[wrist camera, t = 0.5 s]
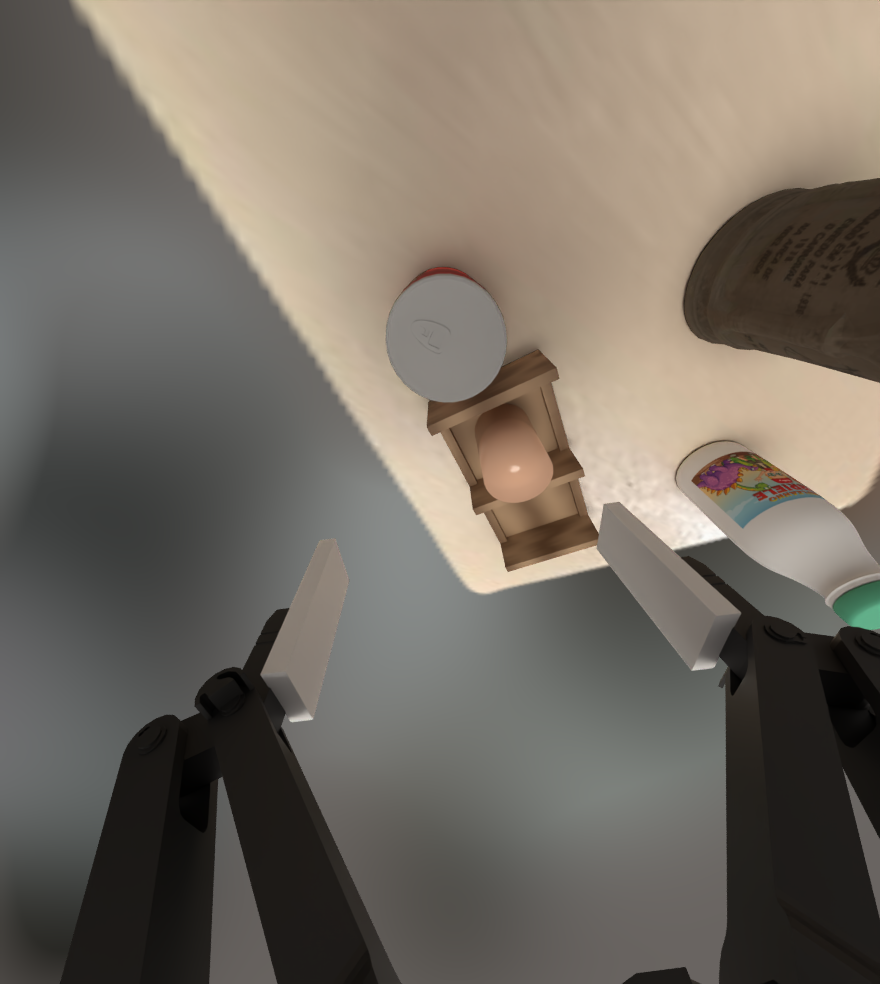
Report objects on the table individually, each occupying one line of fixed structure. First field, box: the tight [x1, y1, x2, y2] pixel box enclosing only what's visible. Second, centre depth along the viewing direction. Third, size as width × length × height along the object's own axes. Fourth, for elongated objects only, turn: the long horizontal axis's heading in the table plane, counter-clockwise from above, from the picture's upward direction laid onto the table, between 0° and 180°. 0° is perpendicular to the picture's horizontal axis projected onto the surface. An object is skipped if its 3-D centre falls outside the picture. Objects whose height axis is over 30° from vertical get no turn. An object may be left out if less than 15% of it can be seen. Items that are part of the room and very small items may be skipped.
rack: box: [427, 350, 599, 572], centre depth 36 cm, size 12×23×6 cm, turn 26°
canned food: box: [386, 267, 507, 402], centre depth 25 cm, size 8×8×11 cm
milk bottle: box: [676, 441, 880, 630], centre depth 31 cm, size 8×8×20 cm
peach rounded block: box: [475, 404, 553, 503], centre depth 31 cm, size 6×6×9 cm
